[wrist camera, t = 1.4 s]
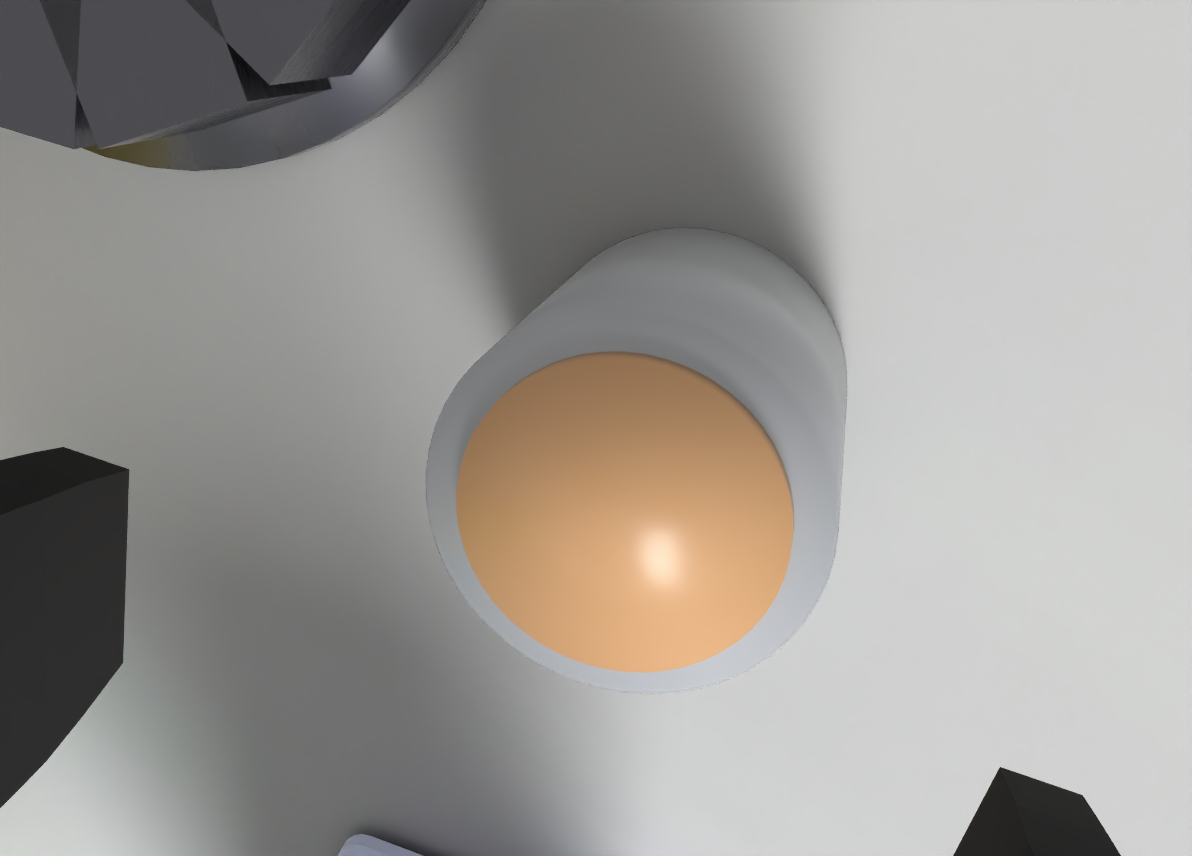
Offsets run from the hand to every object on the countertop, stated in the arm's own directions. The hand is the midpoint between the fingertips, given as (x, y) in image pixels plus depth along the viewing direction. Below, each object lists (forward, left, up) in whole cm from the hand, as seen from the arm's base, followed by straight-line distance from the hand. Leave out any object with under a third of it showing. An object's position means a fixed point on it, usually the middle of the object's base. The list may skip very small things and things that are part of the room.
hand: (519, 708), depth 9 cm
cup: (0, 0, -10) cm, 10 cm away
